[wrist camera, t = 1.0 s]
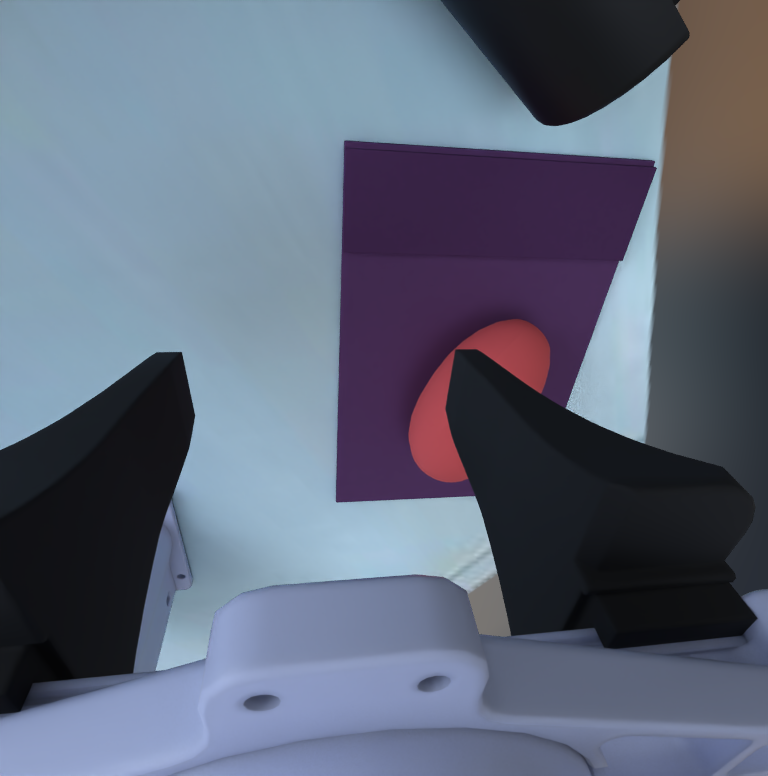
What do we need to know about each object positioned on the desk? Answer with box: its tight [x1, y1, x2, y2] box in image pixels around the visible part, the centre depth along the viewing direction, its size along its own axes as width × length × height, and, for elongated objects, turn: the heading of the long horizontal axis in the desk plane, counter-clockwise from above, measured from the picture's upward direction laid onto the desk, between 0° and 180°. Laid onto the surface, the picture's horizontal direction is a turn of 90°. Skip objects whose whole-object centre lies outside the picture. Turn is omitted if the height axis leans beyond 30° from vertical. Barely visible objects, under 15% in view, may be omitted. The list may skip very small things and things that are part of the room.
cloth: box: [336, 141, 657, 502], centre depth 25 cm, size 20×13×1 cm, turn 176°
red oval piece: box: [408, 319, 550, 482], centre depth 23 cm, size 5×9×6 cm, turn 142°
